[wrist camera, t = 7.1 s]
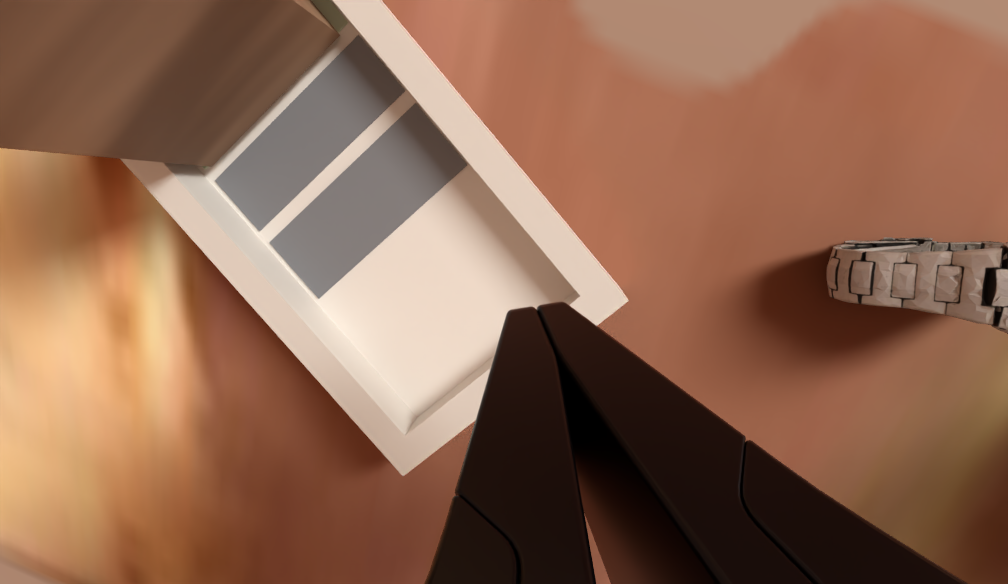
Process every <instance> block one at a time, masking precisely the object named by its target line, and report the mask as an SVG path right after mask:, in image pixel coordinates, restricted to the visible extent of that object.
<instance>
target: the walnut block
mask: <svg viewBox="0 0 1008 584" xmlns="http://www.w3.org/2000/svg"><path fill="white" fill-rule="evenodd" d="M339 36H340V34H339V33H338V32H337V31H336V29H335V28H334V27H333V26H332V25H331V24H330V22H329V21H328V20H327V19H326V18H325V16H324V15H323V14H322V13H321V12H320V10H319V9H318V8H317V7H316V6H315V5H314V3H313V2H312V1H311V0H0V148H8V149H19V150H30V151H41V152H52V153H63V154H75V155H86V156H97V157H108V158H119V159H130V160H142V161H153V162H164V163H175V164H186V165H197V166H208V167H212V166H213V165H214V164H215V163H216V162H217V161H218V160H219V159H220V158H221V157H222V156H223V155H224V154H225V153H226V152H227V151H228V150H229V149H230V148H231V147H232V146H233V145H234V144H235V143H236V142H237V141H238V140H239V138H240V137H241V136H242V135H243V134H244V133H245V132H246V131H247V130H248V129H249V128H250V127H251V126H252V125H253V124H254V123H255V122H256V121H257V120H258V119H259V118H260V117H261V116H262V115H263V114H264V113H265V112H266V111H267V110H268V109H269V108H270V107H271V106H272V105H273V104H274V103H275V102H276V101H277V100H278V99H279V98H280V96H281V95H282V94H283V93H284V92H285V91H286V90H287V89H288V88H289V87H290V86H291V85H292V84H293V83H294V82H295V81H296V80H297V79H298V78H299V77H300V76H301V75H302V74H303V73H304V72H305V71H306V70H307V69H308V68H309V67H310V66H311V65H312V64H313V63H314V62H315V61H316V60H317V59H318V58H319V57H320V56H321V54H322V53H323V52H324V51H325V50H326V49H327V48H328V47H329V46H330V45H331V44H332V43H333V42H334V41H335V40H336V39H337V38H338V37H339Z"/></svg>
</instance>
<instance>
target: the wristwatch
mask: <svg viewBox="0 0 1008 584" xmlns="http://www.w3.org/2000/svg"><path fill="white" fill-rule="evenodd" d="M932 239H933V238H883V239H881V240H879V241H855V240H851V241H844V244H842V245H837V246H834V247H833V250H832V253H831V256H830V260H829V263H828V265H827V284H828V290H829V296H830V297H832V298H835V299H838V300H841V301H844V302H849V303H857V304H866V305H874V306H886V307H899V308H908V309H914V310H919V311H924V312H928V313H935V314H944V315H948V316H952V317H956V318H960V319H964V320H967V321H971V322H975V323H980V324H988V325H992V327H994V328H996V329H998V330H1000V331H1003V332H1005V333H1007V334H1008V242H1007V243H1000V242H988V241H987V242H963V243H958V242H935V241H932Z"/></svg>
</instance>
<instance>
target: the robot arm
mask: <svg viewBox="0 0 1008 584" xmlns="http://www.w3.org/2000/svg"><path fill="white" fill-rule="evenodd" d="M745 440H746V438H745V436H744V435H743V434H741V433H740V432H739V431H737V430H736V429H735V428H733V427H732V426H731V425H729V424H728V423H727V422H725V421H724V420H723V419H721V418H720V417H719V416H717V415H716V414H715V413H713V412H712V411H711V410H709V409H708V408H706V407H705V406H704V405H702V404H701V403H700V402H698V401H697V400H696V399H694V398H693V397H692V396H690V395H689V394H688V393H686V392H685V391H684V390H682V389H681V388H680V387H678V386H677V385H676V384H674V383H673V382H672V381H670V380H669V379H668V378H666V377H665V376H664V375H662V374H661V373H660V372H658V371H657V370H655V369H654V368H653V367H651V366H650V365H649V364H647V363H646V362H645V361H643V360H642V359H641V358H639V357H638V356H637V355H635V354H634V353H633V352H631V351H630V350H629V349H627V348H626V347H625V346H623V345H622V344H621V343H619V342H618V341H617V340H615V339H614V338H613V337H611V336H610V335H609V334H607V333H606V332H604V331H603V330H602V329H600V328H599V327H598V326H596V325H595V324H594V323H592V322H591V321H590V320H588V319H587V318H586V317H584V316H583V315H582V314H580V313H579V312H578V311H576V310H575V309H574V308H572V307H571V306H570V305H568V304H567V303H565V302H554V303H548V304H542V305H539V306H538V307H537V309H535V308H534V307H532V306H530V307H523V308H517V309H511V310H509V311H508V312H507V314H506V317H505V321H504V324H503V327H502V331H501V334H500V338H499V341H498V345H497V348H496V352H495V355H494V359H493V362H492V365H491V369H490V372H489V376H488V379H487V383H486V386H485V390H484V393H483V396H482V400H481V403H480V407H479V410H478V414H477V417H476V421H475V424H474V427H473V431H472V434H471V438H470V441H469V445H468V448H467V452H466V455H465V458H464V462H463V465H462V469H461V472H460V476H459V479H458V483H457V486H456V489H455V495H456V496H454V497H453V499H452V502H451V505H450V509H449V512H448V516H447V519H446V523H445V526H444V529H443V532H442V535H441V538H440V541H439V544H438V547H437V550H436V553H435V556H434V559H433V562H432V565H431V568H430V571H429V574H428V576H427V579H426V581H425V584H596V580H595V574H594V568H593V562H592V557H591V551H590V545H589V539H588V533H587V527H586V522H585V516H584V513H585V515H586V518H587V521H588V523H589V526H590V529H591V531H592V534H593V537H594V539H595V542H596V545H597V547H598V550H599V553H600V555H601V558H602V561H603V563H604V566H605V569H606V571H607V574H608V577H609V579H610V582H611V584H967V583H966V582H964V581H962V580H961V579H959V578H958V577H956V576H954V575H953V574H951V573H950V572H948V571H946V570H945V569H943V568H942V567H940V566H938V565H937V564H935V563H934V562H932V561H930V560H929V559H927V558H926V557H924V556H922V555H921V554H919V553H918V552H916V551H914V550H913V549H911V548H909V547H908V546H906V545H905V544H903V543H901V542H900V541H898V540H897V539H895V538H893V537H892V536H890V535H889V534H887V533H885V532H884V531H882V530H881V529H879V528H877V527H876V526H874V525H873V524H871V523H870V522H868V521H866V520H865V519H863V518H862V517H860V516H859V515H857V514H856V513H854V512H853V511H851V510H850V509H848V508H846V507H845V506H843V505H842V504H840V503H839V502H837V501H836V500H834V499H833V498H831V497H830V496H828V495H826V494H825V493H823V492H822V491H820V490H819V489H818V488H816V487H815V486H813V485H812V484H810V483H809V482H808V481H806V480H805V479H803V478H802V477H801V476H799V475H798V474H796V473H795V472H794V471H792V470H791V469H789V468H788V467H787V466H785V465H784V464H782V463H781V462H779V461H778V460H777V459H775V458H774V457H773V456H771V455H770V454H769V453H767V452H766V451H765V450H763V449H762V448H761V447H759V446H758V445H757V444H755V443H754V442H753V441H751V440H748V441H746V443H745Z"/></svg>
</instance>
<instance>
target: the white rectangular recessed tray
mask: <svg viewBox="0 0 1008 584" xmlns="http://www.w3.org/2000/svg"><path fill="white" fill-rule="evenodd" d="M311 1H312V2H313V3H314V5H315V6H316V7H317V8H318V9H319V10H320V12H321V13H322V14H323V15H324V16H325V18H326V19H327V20H328V21H329V22H330V24H331V25H332V26H333V27H334V28H335V29H336V31H337V32H338V33H339V34H340V36H339V37H338V38H337V39H336V40H335V41H334V42H333V43H332V44H331V45H330V46H329V47H328V48H327V49H326V50H325V51H324V52H323V53H322V54H321V56H320V57H319V58H318V59H317V60H316V61H315V62H314V63H313V64H312V65H311V66H310V67H309V68H308V69H307V70H306V71H305V72H304V73H303V74H302V75H301V76H300V77H299V78H298V79H297V80H296V81H295V82H294V83H293V84H292V85H291V86H290V87H289V88H288V89H287V90H286V91H285V92H284V93H283V94H282V95H281V96H280V98H279V99H278V100H277V101H276V102H275V103H274V104H273V105H272V106H271V107H270V108H269V109H268V110H267V111H266V112H265V113H264V114H263V115H262V116H261V117H260V118H259V119H258V120H257V121H256V122H255V123H254V124H253V125H252V126H251V127H250V128H249V129H248V130H247V131H246V132H245V133H244V134H243V135H242V136H241V137H240V138H239V140H238V141H237V142H236V143H235V144H234V145H233V146H232V147H231V148H230V149H229V150H228V151H227V152H226V153H225V154H224V155H223V156H222V157H221V158H220V159H219V160H218V161H217V162H216V163H215V164H214V165H213V166H212V167H208V166H197V165H186V164H175V163H164V162H153V161H142V160H130V159H121V160H122V162H123V163H124V164H125V165H126V166H127V167H128V168H129V169H130V171H131V172H132V173H133V174H134V175H135V176H136V177H137V178H138V180H139V181H140V182H141V183H142V184H143V185H144V186H145V187H146V189H147V190H148V191H149V192H150V193H151V194H152V195H153V196H154V197H155V199H156V200H157V201H158V202H159V203H160V204H161V205H162V206H163V208H164V209H165V210H166V211H167V212H168V213H169V214H170V215H171V217H172V218H173V219H174V220H175V221H176V222H177V223H178V224H179V226H180V227H181V228H182V229H183V230H184V231H185V232H186V233H187V235H188V236H189V237H190V238H191V239H192V240H193V241H194V242H195V244H196V245H197V246H198V247H199V248H200V249H201V250H202V251H203V253H204V254H205V255H206V256H207V257H208V258H209V259H210V260H211V261H212V263H213V264H214V265H215V266H216V267H217V268H218V269H219V270H220V272H221V273H222V274H223V275H224V276H225V277H226V278H227V279H228V281H229V282H230V283H231V284H232V285H233V286H234V287H235V288H236V290H237V291H238V292H239V293H240V294H241V295H242V296H243V297H244V299H245V300H246V301H247V302H248V303H249V304H250V305H251V306H252V308H253V309H254V310H255V311H256V312H257V313H258V314H259V315H260V316H261V318H262V319H263V320H264V321H265V322H266V323H267V324H268V325H269V327H270V328H271V329H272V330H273V331H274V332H275V333H276V334H277V336H278V337H279V338H280V339H281V340H282V341H283V342H284V343H285V345H286V346H287V347H288V348H289V349H290V350H291V351H292V352H293V354H294V355H295V356H296V357H297V358H298V359H299V360H300V361H301V363H302V364H303V365H304V366H305V367H306V368H307V369H308V370H309V371H310V373H311V374H312V375H313V376H314V377H315V378H316V379H317V380H318V382H319V383H320V384H321V385H322V386H323V387H324V388H325V389H326V391H327V392H328V393H329V394H330V395H331V396H332V397H333V398H334V400H335V401H336V402H337V403H338V404H339V405H340V406H341V407H342V409H343V410H344V411H345V412H346V413H347V414H348V415H349V416H350V418H351V419H352V420H353V421H354V422H355V423H356V424H357V425H358V427H359V428H360V429H361V430H362V431H363V432H364V433H365V434H366V435H367V437H368V438H369V439H370V440H371V441H372V442H373V443H374V444H375V446H376V447H377V448H378V449H379V450H380V451H381V452H382V453H383V455H384V456H385V457H386V458H387V459H388V460H389V461H390V462H391V464H392V465H393V466H394V467H395V468H396V469H397V470H398V471H399V473H400V474H401V475H402V476H404V475H406V474H407V473H408V472H410V471H411V470H412V469H413V468H415V467H416V466H417V465H419V464H420V463H421V462H422V461H424V460H425V459H426V458H427V457H429V456H430V455H431V454H433V453H434V452H435V451H436V450H438V449H439V448H440V447H442V446H443V445H444V444H445V443H447V442H448V441H449V440H451V439H452V438H453V437H454V436H456V435H457V434H458V433H460V432H461V431H462V430H463V429H465V428H466V427H467V426H469V425H470V424H471V423H472V422H474V421H475V420H476V417H477V414H478V410H479V407H480V403H481V400H482V396H483V393H484V390H485V386H486V383H487V379H488V376H489V372H490V369H491V365H492V362H493V359H494V355H495V352H496V348H497V345H498V341H499V338H500V334H501V331H502V327H503V324H504V321H505V317H506V314H507V312H508V311H509V310H511V309H517V308H523V307H530V306H532V307H534V308H535V309H537V307H538V306H539V305H542V304H548V303H554V302H565V303H567V304H568V305H570V306H571V307H572V308H574V309H575V310H576V311H578V312H579V313H580V314H582V315H583V316H584V317H586V318H587V319H588V320H590V321H591V322H592V323H594V324H595V325H596V326H597V325H598V324H600V323H601V322H602V321H603V320H605V319H606V318H607V317H609V316H610V315H611V314H612V313H614V312H615V311H616V310H618V309H619V308H620V307H621V306H623V305H624V304H625V303H626V302H628V301H629V300H628V299H627V297H626V296H625V294H624V293H623V291H622V290H621V288H620V287H619V286H618V284H617V283H616V282H615V281H614V280H613V278H612V277H611V276H610V275H609V274H608V272H607V271H606V270H605V269H604V268H603V266H602V265H601V264H600V263H599V262H598V260H597V259H596V258H595V257H594V256H593V254H592V253H591V252H590V251H589V250H588V248H587V247H586V246H585V245H584V243H583V242H582V241H581V240H580V239H579V237H578V236H577V235H576V234H575V233H574V231H573V230H572V229H571V228H570V227H569V225H568V224H567V223H566V222H565V221H564V219H563V218H562V217H561V216H560V215H559V213H558V212H557V211H556V210H555V209H554V207H553V206H552V205H551V204H550V203H549V201H548V200H547V199H546V198H545V197H544V195H543V194H542V193H541V192H540V190H539V189H538V188H537V187H536V186H535V184H534V183H533V182H532V181H531V180H530V178H529V177H528V176H527V175H526V174H525V172H524V171H523V170H522V169H521V168H520V166H519V165H518V164H517V163H516V162H515V160H514V159H513V158H512V157H511V156H510V154H509V153H508V152H507V151H506V150H505V148H504V147H503V146H502V145H501V144H500V142H499V141H498V140H497V139H496V137H495V136H494V135H493V134H492V133H491V131H490V130H489V129H488V128H487V127H486V125H485V124H484V123H483V122H482V121H481V119H480V118H479V117H478V116H477V115H476V113H475V112H474V111H473V110H472V109H471V107H470V106H469V105H468V104H467V103H466V101H465V100H464V99H463V98H462V97H461V95H460V94H459V93H458V92H457V91H456V89H455V88H454V87H453V86H452V84H451V83H450V82H449V81H448V80H447V78H446V77H445V76H444V75H443V74H442V72H441V71H440V70H439V69H438V68H437V66H436V65H435V64H434V63H433V62H432V60H431V59H430V58H429V57H428V56H427V54H426V53H425V52H424V51H423V50H422V48H421V47H420V46H419V45H418V44H417V42H416V41H415V40H414V39H413V38H412V36H411V35H410V34H409V33H408V31H407V30H406V29H405V28H404V27H403V25H402V24H401V23H400V22H399V21H398V19H397V18H396V17H395V16H394V15H393V13H392V12H391V11H390V10H389V9H388V7H387V6H386V5H385V4H384V3H383V1H382V0H311Z"/></svg>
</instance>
